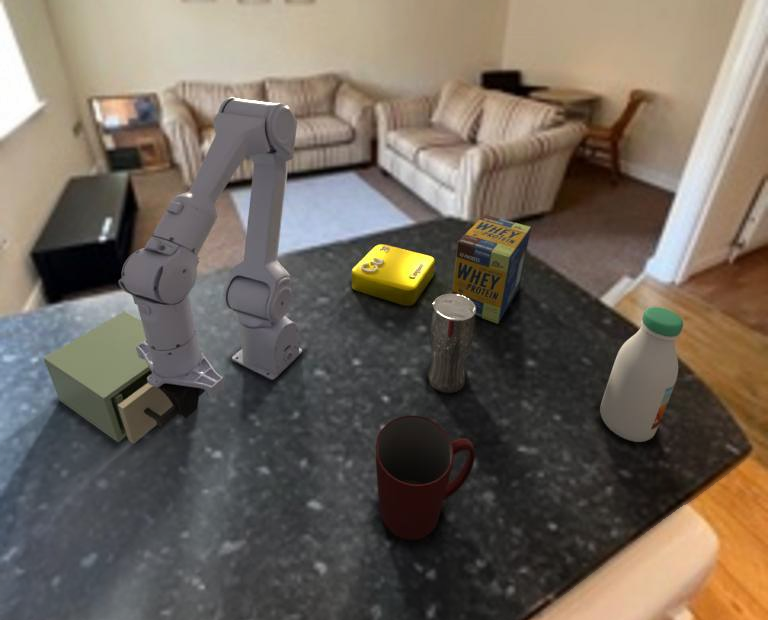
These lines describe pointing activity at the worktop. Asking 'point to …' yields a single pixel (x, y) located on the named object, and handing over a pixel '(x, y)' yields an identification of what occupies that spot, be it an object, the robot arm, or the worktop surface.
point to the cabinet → (99, 370)
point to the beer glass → (450, 340)
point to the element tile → (393, 274)
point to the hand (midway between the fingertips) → (188, 411)
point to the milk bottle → (643, 377)
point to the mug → (416, 474)
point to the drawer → (143, 408)
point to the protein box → (491, 265)
